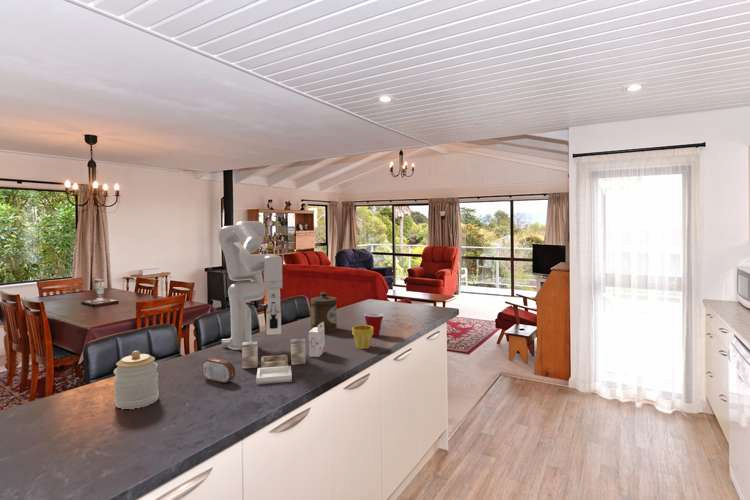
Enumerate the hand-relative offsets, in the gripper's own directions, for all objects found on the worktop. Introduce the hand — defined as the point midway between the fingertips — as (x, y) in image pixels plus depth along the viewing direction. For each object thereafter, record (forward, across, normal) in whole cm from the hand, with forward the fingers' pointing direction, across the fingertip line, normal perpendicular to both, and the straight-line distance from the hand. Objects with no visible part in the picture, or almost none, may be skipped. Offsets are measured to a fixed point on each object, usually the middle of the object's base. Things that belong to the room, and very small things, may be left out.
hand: (273, 326), depth 177 cm
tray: (+16, -16, 0) cm, 23 cm away
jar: (+17, -28, +45) cm, 56 cm away
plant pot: (+17, +16, -42) cm, 48 cm away
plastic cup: (+17, +35, -52) cm, 65 cm away
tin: (+17, -14, +21) cm, 30 cm away
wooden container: (+17, +54, -27) cm, 63 cm away
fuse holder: (+16, 0, 0) cm, 16 cm away
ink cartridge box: (+17, +10, -19) cm, 27 cm away
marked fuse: (+3, 0, 0) cm, 3 cm away
